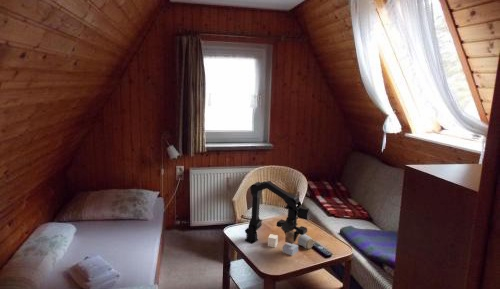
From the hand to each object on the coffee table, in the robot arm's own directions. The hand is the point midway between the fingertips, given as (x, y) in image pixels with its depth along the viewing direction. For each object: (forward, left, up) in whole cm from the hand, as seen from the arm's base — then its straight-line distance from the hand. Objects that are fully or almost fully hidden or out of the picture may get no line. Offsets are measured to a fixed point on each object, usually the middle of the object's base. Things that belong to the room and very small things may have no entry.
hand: (290, 239), depth 205 cm
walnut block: (0, 0, -1) cm, 1 cm away
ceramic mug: (+5, +13, -8) cm, 16 cm away
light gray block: (0, 0, -8) cm, 8 cm away
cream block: (-13, 0, -8) cm, 15 cm away
